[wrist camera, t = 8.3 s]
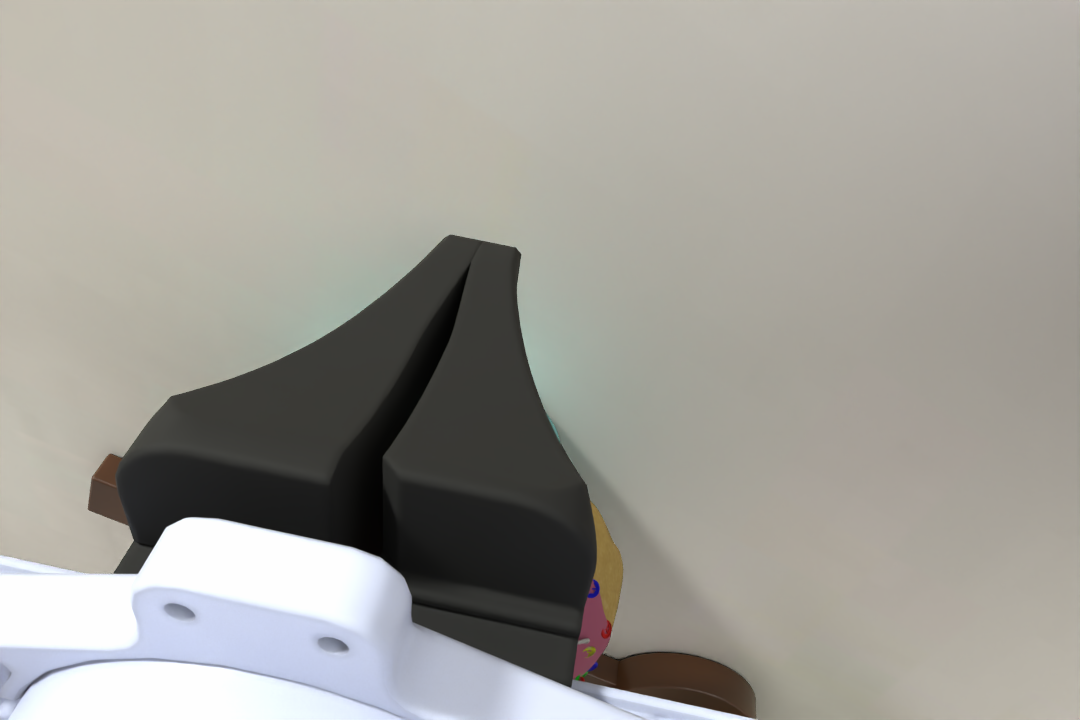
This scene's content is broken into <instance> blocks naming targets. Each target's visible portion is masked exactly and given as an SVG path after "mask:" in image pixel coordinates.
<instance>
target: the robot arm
mask: <svg viewBox="0 0 1080 720" xmlns="http://www.w3.org/2000/svg"><path fill="white" fill-rule="evenodd" d="M520 259H521V254H520V252H519V251H518V250H517V248H515V247H510V246H505V245H500V244H495V243H490V242H485V241H480V240H475V239H470V238H465V237H460V236H455V235H449V236H447V237H445V238H444V239H443V240H442V241H441V242H440V243H439V244H438V245H437V246H436V247H435V248H434V249H433V250H432V251H431V252H430V253H429V254H428V255H427V256H426V257H425V258H424V259H423V260H422V261H421V262H420V263H419V264H418V265H417V266H416V267H414V268H413V269H412V270H411V271H410V272H409V273H408V274H407V275H406V276H405V277H403V278H402V279H401V280H400V281H399V282H398V283H396V284H395V285H394V286H393V287H392V288H391V289H389V290H388V291H387V292H386V293H385V294H383V295H382V296H381V297H380V298H378V299H377V300H376V301H374V302H373V303H372V304H370V305H369V306H368V307H366V308H365V309H364V310H362V311H361V312H360V313H359V314H357V315H356V316H354V317H353V318H352V319H350V320H349V321H347V322H346V323H344V324H343V325H341V326H340V327H338V328H337V329H335V330H333V331H332V332H330V333H328V334H327V335H325V336H324V337H322V338H320V339H319V340H317V341H315V342H313V343H311V344H309V345H308V346H306V347H304V348H302V349H300V350H298V351H296V352H294V353H292V354H290V355H288V356H285V357H283V358H281V359H279V360H277V361H275V362H273V363H270V364H268V365H266V366H263V367H261V368H258V369H256V370H253V371H251V372H248V373H245V374H243V375H240V376H237V377H235V378H232V379H229V380H226V381H223V382H220V383H217V384H213V385H210V386H206V387H203V388H200V389H196V390H193V391H189V392H186V393H182V394H179V395H175V396H171V397H170V398H169V399H168V401H167V402H166V403H165V404H164V405H163V406H162V407H161V408H160V409H159V410H158V412H157V413H156V414H155V415H154V416H153V417H152V418H151V420H150V421H149V422H148V423H147V425H146V426H145V427H144V429H143V430H142V431H141V433H140V434H139V436H138V437H137V439H136V440H135V441H134V443H133V444H132V446H131V447H130V448H129V450H128V451H127V453H126V454H125V456H124V457H123V458H122V460H121V461H120V463H119V465H118V468H117V471H116V474H115V479H116V486H117V491H118V494H119V497H120V500H121V503H122V506H123V509H124V512H125V515H126V518H127V521H128V524H129V527H130V530H131V533H132V536H133V539H134V542H133V543H132V545H131V546H130V548H129V550H128V551H127V553H126V554H125V556H124V557H123V559H122V561H121V562H120V564H119V565H118V567H117V569H116V570H115V572H114V573H113V574H86V573H81V572H77V571H72V570H67V569H63V568H58V567H54V566H49V565H44V564H40V563H35V562H31V561H26V560H21V559H17V558H12V557H8V556H3V555H0V720H757V719H753V718H748V717H744V716H739V715H734V714H730V713H725V712H721V711H716V710H711V709H707V708H702V707H698V706H693V705H688V704H684V703H679V702H675V701H670V700H665V699H661V698H656V697H652V696H647V695H642V694H638V693H633V692H629V691H624V690H619V689H615V688H610V687H606V686H601V685H596V684H592V683H587V682H583V681H578V680H573V673H574V666H575V659H576V652H577V645H578V638H579V636H580V633H581V628H582V621H583V614H584V607H585V604H586V601H587V597H588V594H589V591H590V587H591V584H592V581H593V577H594V574H595V570H596V564H597V540H596V531H595V524H594V518H593V513H592V507H591V503H590V498H589V494H588V489H587V485H586V484H585V482H584V481H583V479H582V478H581V476H580V475H579V473H578V472H577V470H576V469H575V467H574V466H573V464H572V462H571V461H570V459H569V458H568V456H567V454H566V452H565V450H564V449H563V447H562V445H561V443H560V441H559V440H558V438H557V436H556V434H555V431H554V429H553V427H552V425H551V423H550V421H549V418H548V416H547V414H546V412H545V410H544V408H543V405H542V403H541V400H540V397H539V395H538V392H537V389H536V386H535V383H534V380H533V377H532V374H531V371H530V367H529V364H528V360H527V356H526V352H525V347H524V343H523V338H522V333H521V327H520V320H519V312H518V304H517V281H518V274H519V267H520Z"/></svg>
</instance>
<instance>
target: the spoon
mask: <svg viewBox="0 0 1080 720" xmlns="http://www.w3.org/2000/svg"><path fill="white" fill-rule="evenodd" d="M121 460H122V458H120V457H118V456H115V455H113V454H109V455H108V456H107V457H106V458H105V460H104V461H103V462H102V464H101V465H100V467H99V468H98V469H97V471H96V472H95V474H94V475H93V476H92V480H91V488H90V496H89V503H88V510H89V511H92V512H94V513H97V514H100V515H102V516H105V517H107V518H110V519H113V520H115V521H118V522H120V523H123V524H126V525H128V526H129V524H128V521H127V518H126V515H125V512H124V509H123V506H122V503H121V500H120V497H119V494H118V491H117V486H116V479H115V474H116V471H117V468H118V465H119V463H120V461H121ZM596 662H597V663H598V666H597V668H595V669H594V670H592V671H588V673H587V675H586V676H585V677H584V679H585V681H584V682H587V683H592V684H596V685H601V686H606V687H610V688H615V689H619V690H624V691H629V692H633V693H638V694H642V695H647V696H652V697H656V698H661V699H665V700H670V701H675V702H679V703H684V704H688V705H693V706H698V707H702V708H707V709H711V710H716V711H721V712H725V713H730V714H734V715H739V716H744V717H748V718H753V719H756V698H755V694H754V692H753V690H752V688H751V686H750V685H749V684H748V682H747V681H746V680H745V679H744V678H743V677H742V676H740V675H739V674H737V673H736V672H735V671H733V670H731V669H729V668H728V667H726V666H723V665H721V664H719V663H716V662H714V661H711V660H708V659H704V658H701V657H696V656H691V655H685V654H678V653H649V654H641V655H636V656H632V657H628V658H626V659H623V660H620V661H618V660H615V659H613V658H610V657H608V656H605V655H603V654H601V656H600V657H599V658H598V660H597V661H596ZM591 668H592V667H591ZM578 681H580V680H578Z"/></svg>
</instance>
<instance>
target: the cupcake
mask: <svg viewBox="0 0 1080 720" xmlns="http://www.w3.org/2000/svg"><path fill="white" fill-rule="evenodd" d="M547 416H548V415H547ZM548 418H549V416H548ZM549 421H550V423H551V425H552V427H553V429H554V431H555V434H556V436H557V438H558V440H559V441H560V439H559V436H558V433H557V430H556V428H555V426H554V424H553V423H552V421H551V419H550V418H549ZM590 503H591V507H592V513H593V518H594V524H595V531H596V540H597V564H596V570H595V574H594V577H593V581H592V584H591V587H590V591H589V594H588V597H587V601H586V604H585V607H584V614H583V621H582V628H581V633H580V636H579V638H578V645H577V652H576V659H575V666H574V673H573V680H580V681H583V682H584V681H585V679H584V677H585V676H586V675H587V673H588V671H592V670H594V669H595V668H597V666H598V663H597V662H596V661H597V660H598V658H599V657H600V656H601V654H602V653H603V652H604V650H605V648H606V647H607V645H608V643H609V640H610V637H611V631H612V626H613V623H614V620H615V616H616V612H617V608H618V603H619V597H620V592H621V586H622V579H623V563H622V558H621V554H620V551H619V549H618V548H617V546H616V545H615V544H614V542H613V540H612V538H611V536H610V533H609V531H608V529H607V526H606V524H605V522H604V520H603V518H602V516H601V514H600V512H599V511H598V509H597V508H596V507H595V505H594V504H593V503H592V502H591V501H590ZM591 667H592V668H591Z"/></svg>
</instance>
